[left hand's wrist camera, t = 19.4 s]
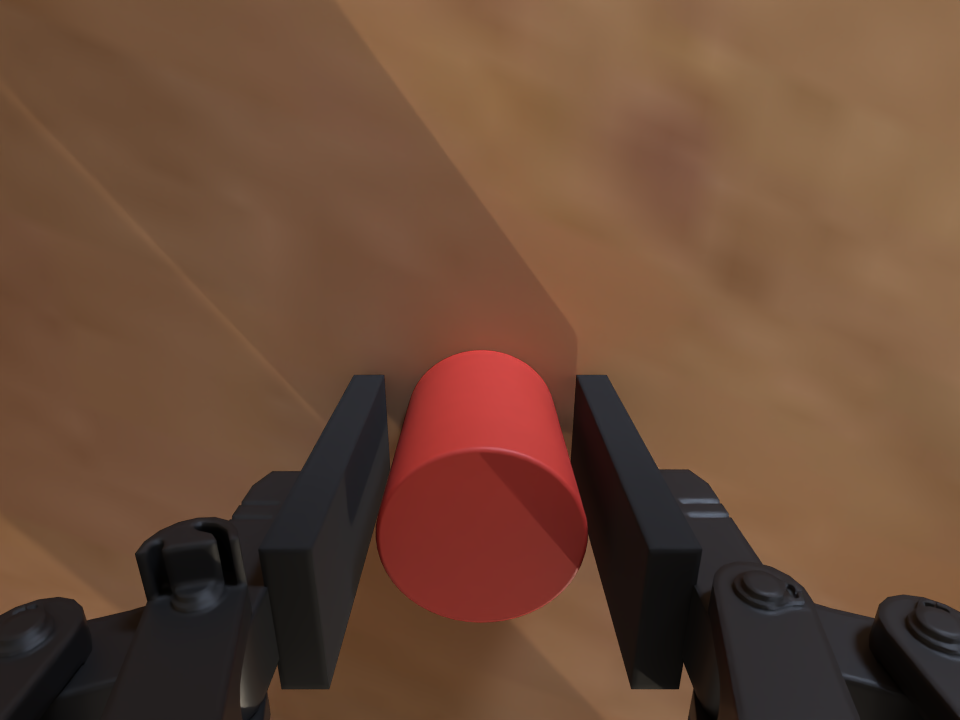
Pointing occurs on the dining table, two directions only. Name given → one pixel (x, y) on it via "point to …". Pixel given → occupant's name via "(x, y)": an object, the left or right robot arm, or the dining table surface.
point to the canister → (481, 493)
